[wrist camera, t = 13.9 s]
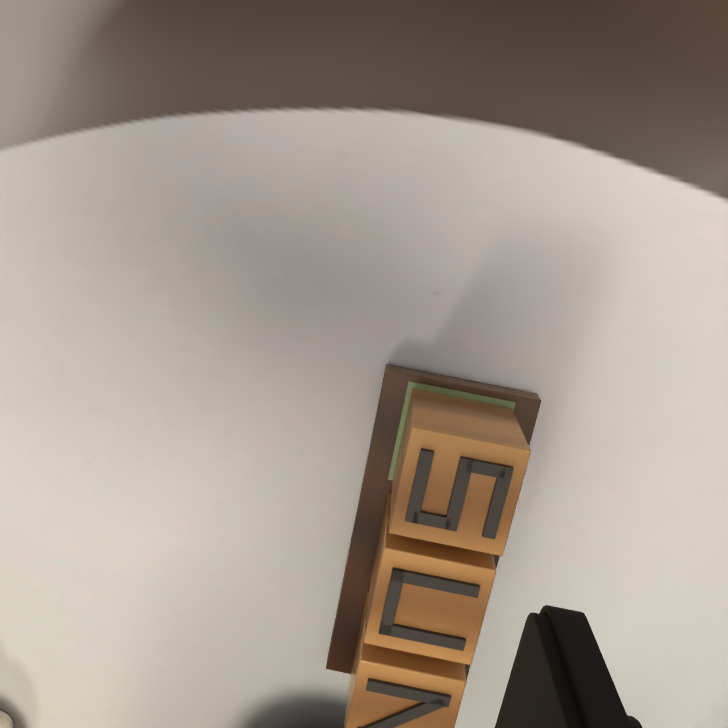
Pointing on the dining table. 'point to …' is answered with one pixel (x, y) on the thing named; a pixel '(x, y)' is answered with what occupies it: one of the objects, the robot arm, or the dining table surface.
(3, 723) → the rose
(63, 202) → the dining table surface
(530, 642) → the robot arm
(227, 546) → the dining table surface
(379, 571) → the word rack
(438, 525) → the letter block S
